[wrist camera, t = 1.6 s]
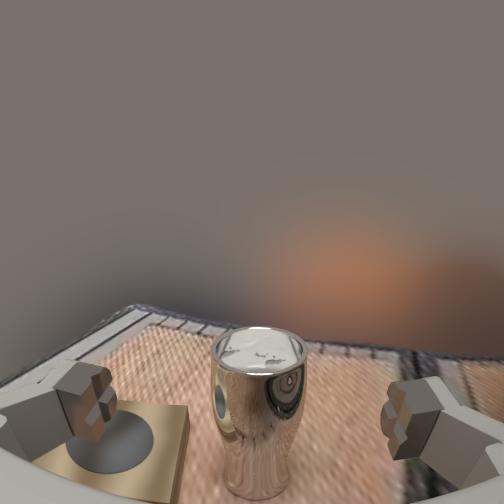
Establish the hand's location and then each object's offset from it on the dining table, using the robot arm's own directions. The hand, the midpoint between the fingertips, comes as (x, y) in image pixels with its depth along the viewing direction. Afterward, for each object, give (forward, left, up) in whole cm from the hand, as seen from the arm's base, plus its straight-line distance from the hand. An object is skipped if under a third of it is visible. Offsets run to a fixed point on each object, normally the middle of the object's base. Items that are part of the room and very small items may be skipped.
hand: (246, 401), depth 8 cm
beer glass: (-1, -12, -20) cm, 24 cm away
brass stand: (+13, -13, -20) cm, 27 cm away
